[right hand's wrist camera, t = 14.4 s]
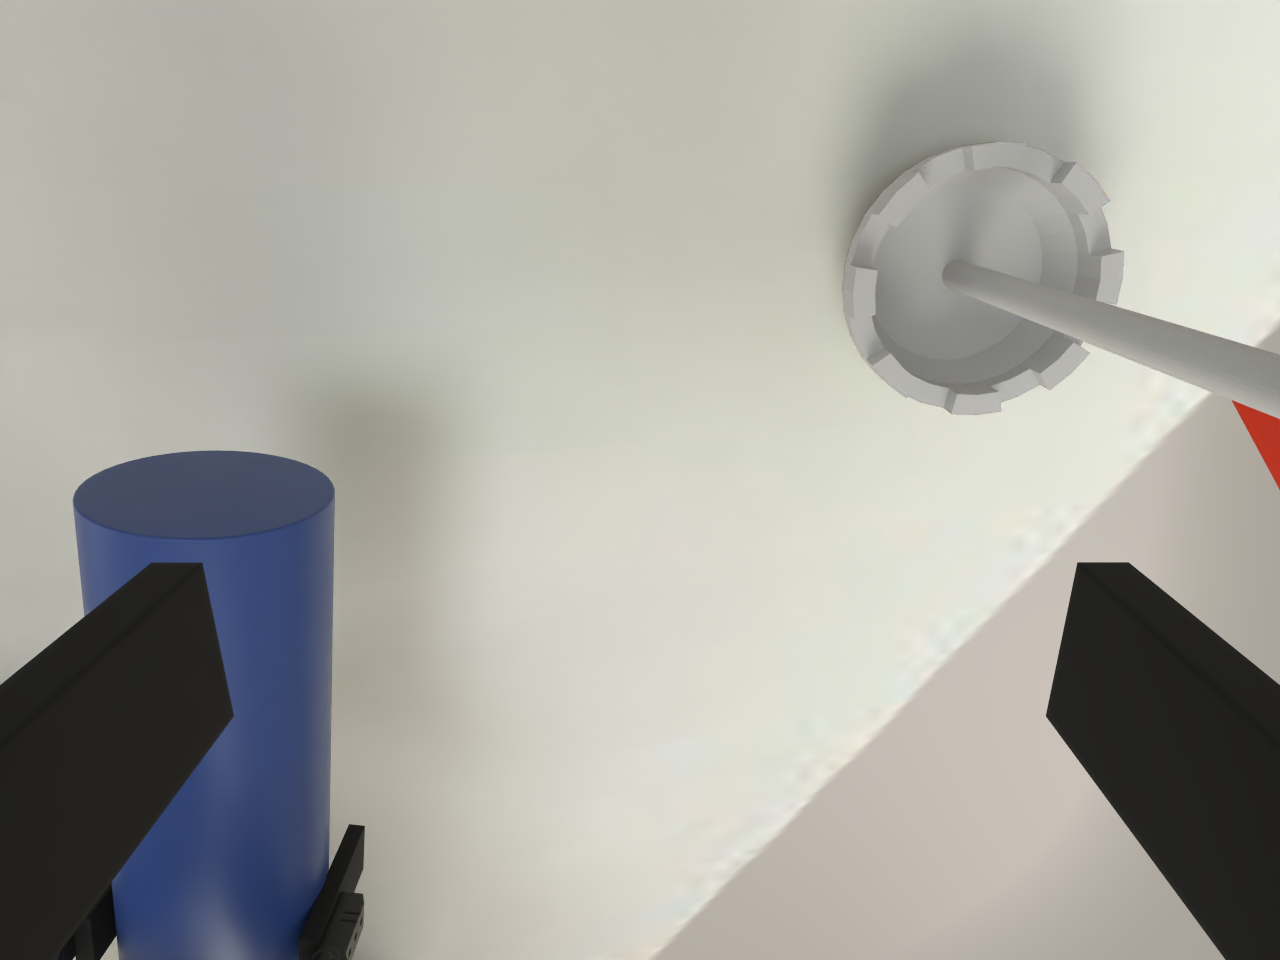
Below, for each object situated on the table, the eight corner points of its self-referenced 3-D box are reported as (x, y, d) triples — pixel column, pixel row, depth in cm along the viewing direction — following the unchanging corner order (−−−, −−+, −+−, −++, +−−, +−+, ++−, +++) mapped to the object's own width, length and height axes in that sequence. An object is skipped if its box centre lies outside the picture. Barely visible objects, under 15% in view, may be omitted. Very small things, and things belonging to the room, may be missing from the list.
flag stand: (793, 215, 44) (1056, 299, 16) (1030, 97, 42) (1795, -35, 14) (877, 425, 49) (1203, 781, 21) (1098, 328, 47) (1792, 574, 18)
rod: (156, 439, 34) (11, 519, 26) (363, 466, 35) (282, 552, 27) (182, 868, 42) (77, 1030, 34) (351, 886, 43) (286, 1049, 35)
